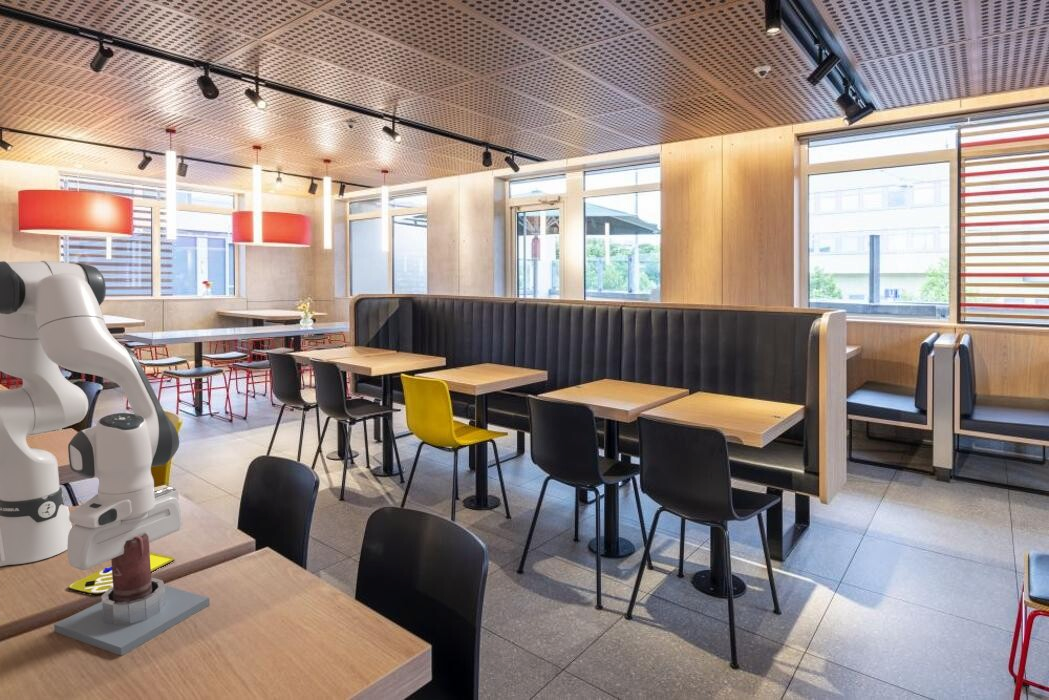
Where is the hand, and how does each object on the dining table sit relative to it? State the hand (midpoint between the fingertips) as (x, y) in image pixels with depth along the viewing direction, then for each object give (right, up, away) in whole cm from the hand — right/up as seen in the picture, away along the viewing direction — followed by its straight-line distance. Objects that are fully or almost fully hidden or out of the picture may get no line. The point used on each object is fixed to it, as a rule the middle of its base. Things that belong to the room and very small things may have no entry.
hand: (131, 570), depth 117 cm
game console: (-13, -8, +18) cm, 24 cm away
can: (0, -7, +1) cm, 7 cm away
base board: (0, -9, +1) cm, 10 cm away
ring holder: (0, -8, +1) cm, 8 cm away
